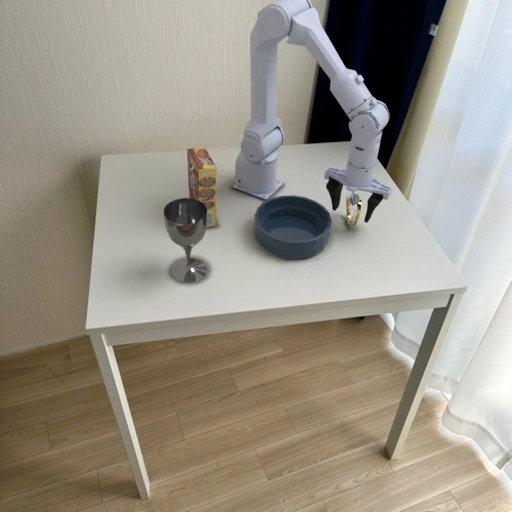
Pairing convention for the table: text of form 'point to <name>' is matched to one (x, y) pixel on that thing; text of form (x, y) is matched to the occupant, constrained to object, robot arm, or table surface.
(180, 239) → the wine glass
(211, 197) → the candy box
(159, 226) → the table surface
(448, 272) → the table surface
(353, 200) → the ring
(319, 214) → the bowl
